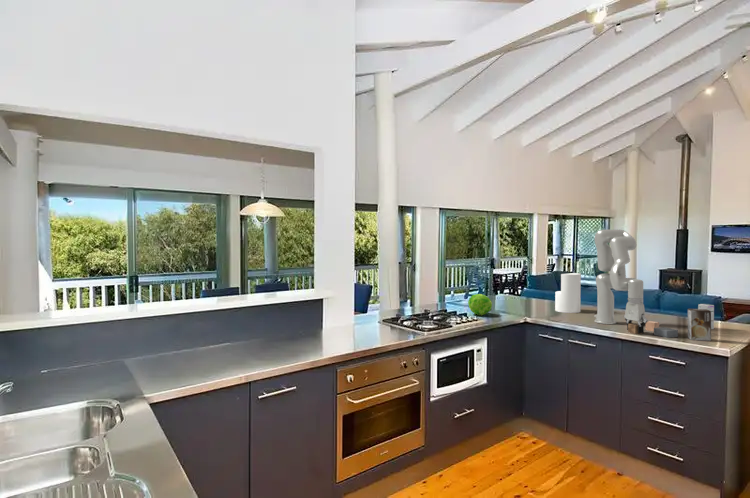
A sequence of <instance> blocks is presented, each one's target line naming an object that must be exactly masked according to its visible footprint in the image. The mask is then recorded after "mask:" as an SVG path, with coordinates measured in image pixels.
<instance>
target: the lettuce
mask: <svg viewBox="0 0 750 498" xmlns="http://www.w3.org/2000/svg"><path fill="white" fill-rule="evenodd" d="M467 304H468V308H469V310H470V311H471V312H472V313H473V314H475V315H476V314H477V315H476V316H484V315H487V314H488V313H489V312H490V311H492V307H493V302H492V300H491V299H490V298H489V296H487V295H485V294H482V293H476V294H472V295H471V296H470V297H469V299H468V300H467Z"/></svg>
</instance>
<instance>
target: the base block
mask: <svg viewBox="0 0 750 498" xmlns="http://www.w3.org/2000/svg"><path fill="white" fill-rule="evenodd" d="M653 335H654V336H657V337H662V338H667V339H669V338H678V337H679V331H678V329H674V328H669V327H666V326H665V327H664V326H661V327H659V328H654V331H653Z"/></svg>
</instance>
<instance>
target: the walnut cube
mask: <svg viewBox="0 0 750 498" xmlns="http://www.w3.org/2000/svg"><path fill="white" fill-rule="evenodd" d="M632 323H633V322H632ZM638 326H639V324H638V323H635V322H634V323H633V324H628V330H627V332H628V333H629V332H630V333H629V334H633V335H637V334H639V335H641V334H642V335H643V333H638Z"/></svg>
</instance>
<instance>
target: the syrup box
mask: <svg viewBox="0 0 750 498" xmlns="http://www.w3.org/2000/svg"><path fill="white" fill-rule="evenodd" d="M697 309H707V310H710V311H711V330H714V328H715V322H714V321H715V305H714V304H710V303H700V304H699V303H698V306H697Z"/></svg>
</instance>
